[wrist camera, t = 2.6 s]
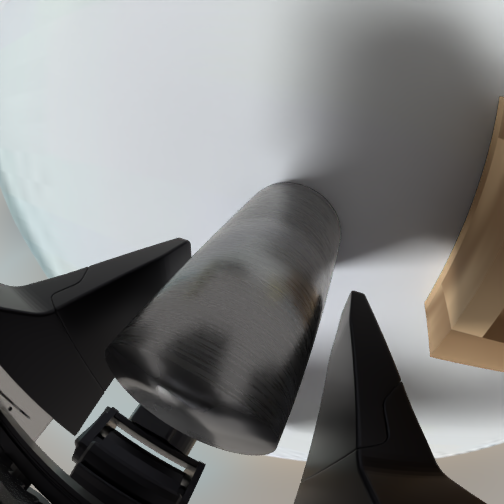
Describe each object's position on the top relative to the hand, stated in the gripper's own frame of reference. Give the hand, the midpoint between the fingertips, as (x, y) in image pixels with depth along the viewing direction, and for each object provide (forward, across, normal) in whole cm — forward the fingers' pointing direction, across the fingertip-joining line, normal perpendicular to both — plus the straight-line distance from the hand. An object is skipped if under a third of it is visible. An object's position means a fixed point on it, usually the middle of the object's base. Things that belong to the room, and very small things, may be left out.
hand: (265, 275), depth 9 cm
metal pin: (+3, 0, 0) cm, 3 cm away
